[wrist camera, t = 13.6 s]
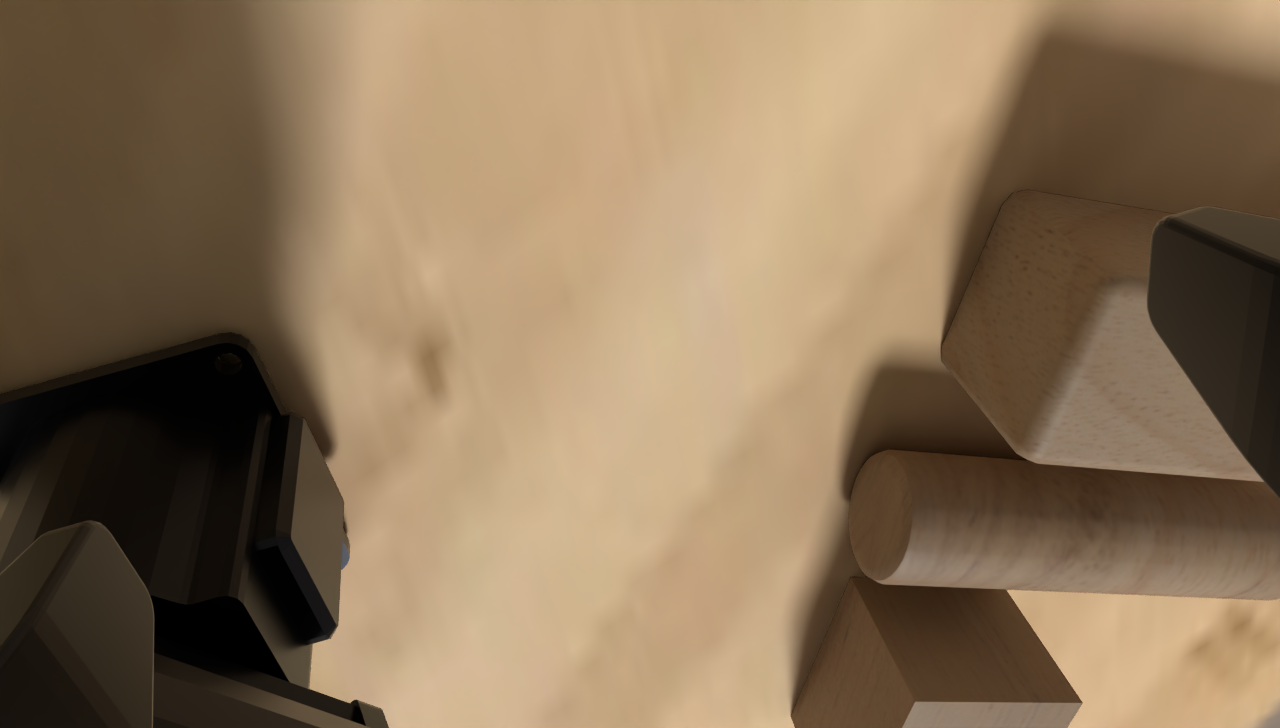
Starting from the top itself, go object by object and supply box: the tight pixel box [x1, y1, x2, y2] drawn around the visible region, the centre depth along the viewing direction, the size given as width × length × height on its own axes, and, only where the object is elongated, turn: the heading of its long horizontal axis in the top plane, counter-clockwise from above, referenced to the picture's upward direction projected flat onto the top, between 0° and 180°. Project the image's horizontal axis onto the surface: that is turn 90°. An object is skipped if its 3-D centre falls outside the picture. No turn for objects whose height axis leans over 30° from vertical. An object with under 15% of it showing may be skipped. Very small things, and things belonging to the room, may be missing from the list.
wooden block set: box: [791, 190, 1280, 728], centre depth 29 cm, size 17×6×18 cm
